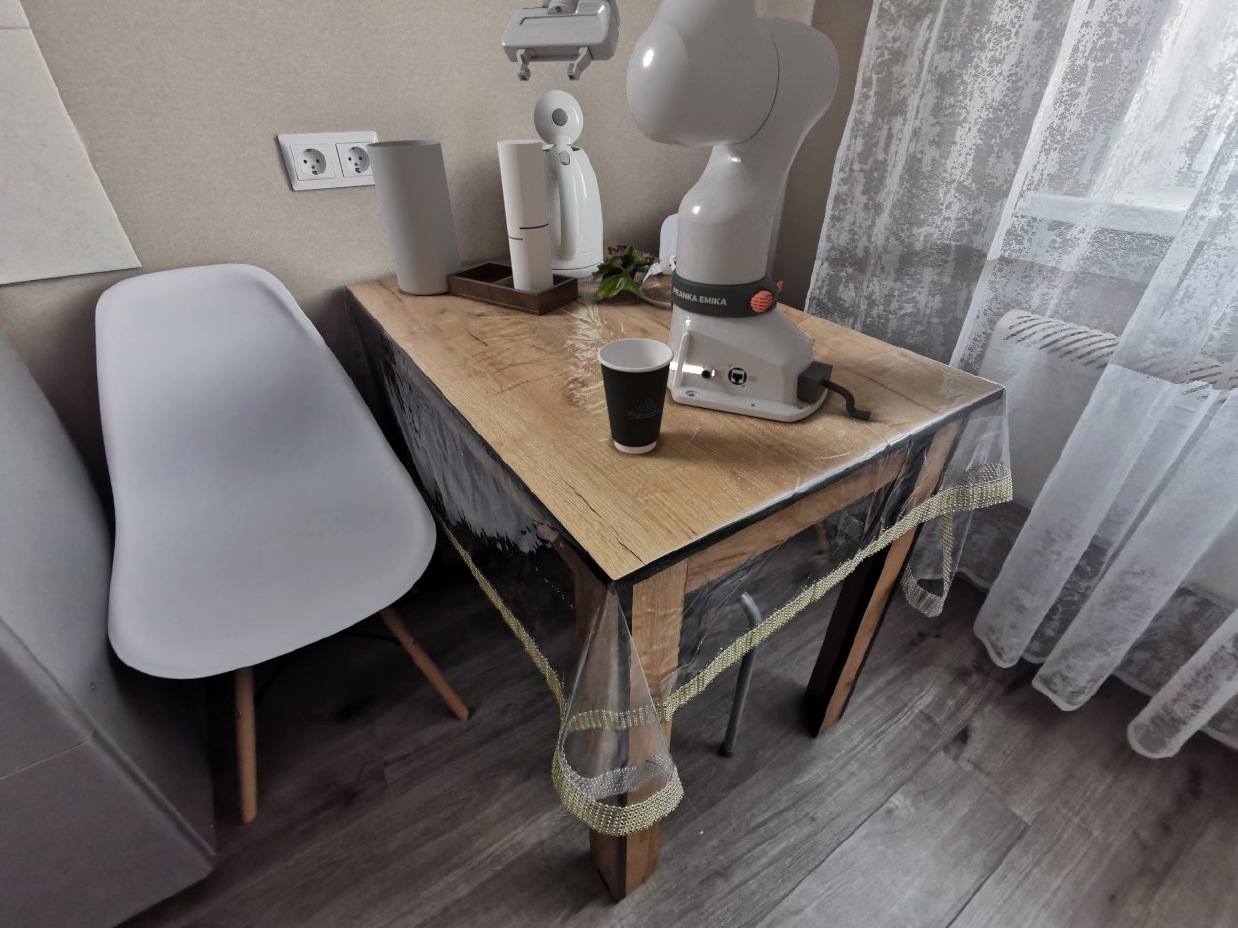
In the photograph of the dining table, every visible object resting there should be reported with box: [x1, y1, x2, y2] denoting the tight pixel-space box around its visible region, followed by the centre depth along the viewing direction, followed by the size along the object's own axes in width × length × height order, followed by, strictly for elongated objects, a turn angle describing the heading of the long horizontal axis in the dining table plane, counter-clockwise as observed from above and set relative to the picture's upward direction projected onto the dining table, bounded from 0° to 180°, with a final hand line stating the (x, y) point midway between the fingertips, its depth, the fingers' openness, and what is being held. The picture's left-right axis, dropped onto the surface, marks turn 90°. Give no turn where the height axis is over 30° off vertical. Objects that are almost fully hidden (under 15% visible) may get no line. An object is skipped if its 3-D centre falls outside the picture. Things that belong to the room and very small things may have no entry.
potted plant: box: [591, 243, 656, 304], centre depth 103 cm, size 11×11×12 cm
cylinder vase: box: [365, 139, 463, 296], centre depth 105 cm, size 12×12×25 cm
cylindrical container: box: [496, 139, 553, 293], centre depth 97 cm, size 7×7×25 cm
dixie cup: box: [596, 337, 674, 455], centre depth 61 cm, size 8×8×11 cm
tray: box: [446, 260, 579, 316], centre depth 106 cm, size 22×12×4 cm, turn 57°
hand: (547, 77), depth 93 cm, fingers open, 8 cm apart
